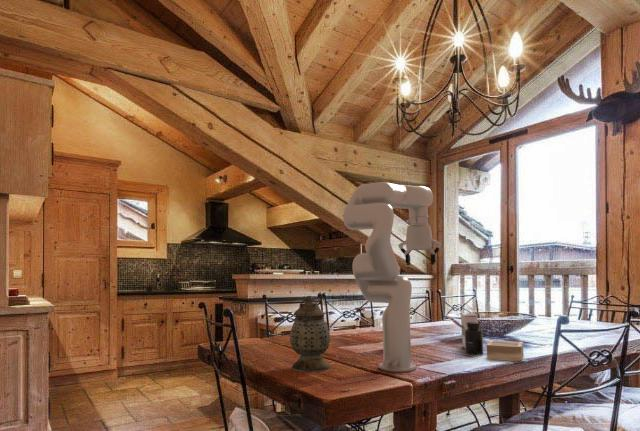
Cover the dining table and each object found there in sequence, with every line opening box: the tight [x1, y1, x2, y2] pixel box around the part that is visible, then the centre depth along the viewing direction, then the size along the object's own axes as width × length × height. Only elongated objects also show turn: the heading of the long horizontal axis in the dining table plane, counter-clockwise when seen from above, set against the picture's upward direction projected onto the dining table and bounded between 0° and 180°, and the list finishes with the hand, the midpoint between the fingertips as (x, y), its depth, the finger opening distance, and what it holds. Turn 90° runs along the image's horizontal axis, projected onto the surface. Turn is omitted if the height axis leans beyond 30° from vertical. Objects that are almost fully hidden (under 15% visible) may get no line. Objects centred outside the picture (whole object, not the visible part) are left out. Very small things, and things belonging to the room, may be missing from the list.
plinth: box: [486, 340, 525, 362], centre depth 181 cm, size 12×12×5 cm
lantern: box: [289, 295, 331, 373], centre depth 167 cm, size 14×14×25 cm
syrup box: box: [460, 312, 479, 349], centre depth 202 cm, size 6×6×14 cm
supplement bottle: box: [464, 322, 484, 356], centre depth 190 cm, size 7×7×12 cm
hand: (420, 264), depth 190 cm, fingers open, 9 cm apart
